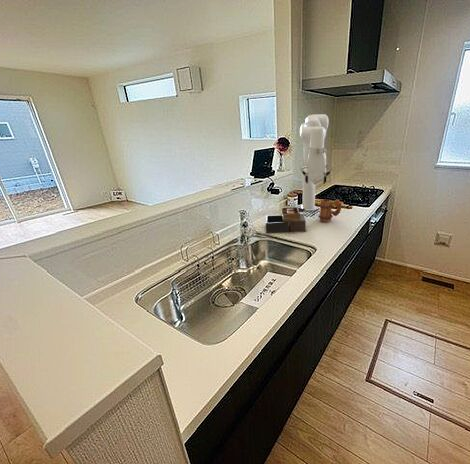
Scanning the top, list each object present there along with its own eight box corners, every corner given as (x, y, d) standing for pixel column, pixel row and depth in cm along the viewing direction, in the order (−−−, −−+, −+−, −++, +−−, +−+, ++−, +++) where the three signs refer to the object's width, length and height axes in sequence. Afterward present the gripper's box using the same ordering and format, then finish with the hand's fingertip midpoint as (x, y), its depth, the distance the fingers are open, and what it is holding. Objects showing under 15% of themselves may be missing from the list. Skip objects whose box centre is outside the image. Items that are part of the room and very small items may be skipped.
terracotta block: (287, 217, 154) (287, 211, 153) (294, 217, 154) (294, 211, 153) (287, 219, 151) (287, 213, 149) (294, 219, 151) (294, 213, 149)
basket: (266, 225, 164) (266, 215, 162) (287, 224, 165) (287, 214, 162) (266, 233, 152) (265, 223, 149) (288, 232, 152) (288, 222, 149)
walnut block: (286, 214, 160) (286, 208, 158) (293, 214, 160) (293, 208, 158) (287, 216, 156) (287, 210, 155) (293, 216, 156) (293, 210, 155)
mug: (317, 222, 166) (318, 200, 160) (318, 218, 173) (319, 197, 167) (340, 224, 162) (341, 201, 156) (340, 219, 170) (342, 198, 164)
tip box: (282, 214, 162) (281, 204, 159) (302, 213, 162) (303, 203, 159) (283, 221, 149) (282, 210, 147) (305, 221, 150) (305, 210, 147)
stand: (288, 224, 164) (288, 214, 161) (303, 224, 164) (303, 214, 161) (289, 231, 153) (289, 221, 150) (305, 231, 153) (305, 220, 150)
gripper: (333, 151, 137) (331, 182, 144) (301, 151, 141) (301, 181, 147) (333, 152, 131) (331, 185, 137) (299, 152, 134) (299, 184, 141)
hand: (315, 183), depth 142 cm, fingers open, 9 cm apart
